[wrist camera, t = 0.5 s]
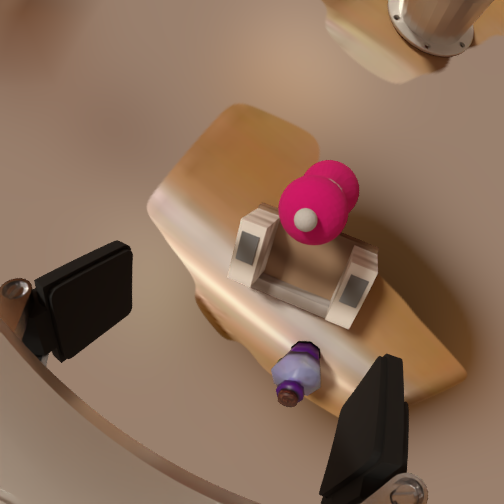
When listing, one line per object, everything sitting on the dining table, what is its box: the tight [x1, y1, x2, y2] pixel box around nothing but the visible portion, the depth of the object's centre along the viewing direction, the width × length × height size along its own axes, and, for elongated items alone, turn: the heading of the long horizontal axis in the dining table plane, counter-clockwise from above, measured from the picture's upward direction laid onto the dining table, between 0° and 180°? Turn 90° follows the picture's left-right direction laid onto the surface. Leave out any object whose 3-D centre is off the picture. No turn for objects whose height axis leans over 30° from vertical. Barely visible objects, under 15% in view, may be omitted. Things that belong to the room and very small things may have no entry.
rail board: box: [227, 203, 379, 329], centre depth 40 cm, size 12×18×8 cm, turn 76°
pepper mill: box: [278, 160, 359, 245], centre depth 30 cm, size 7×7×20 cm
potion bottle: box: [271, 341, 321, 407], centre depth 45 cm, size 9×9×12 cm
